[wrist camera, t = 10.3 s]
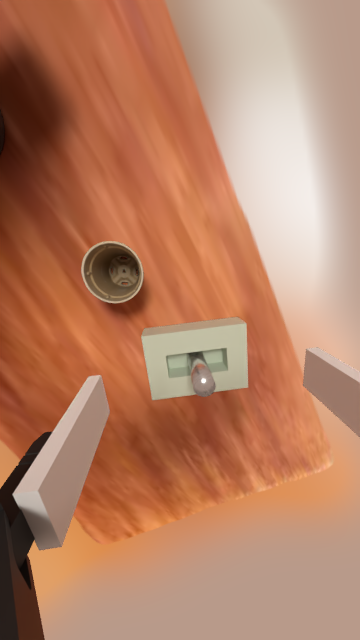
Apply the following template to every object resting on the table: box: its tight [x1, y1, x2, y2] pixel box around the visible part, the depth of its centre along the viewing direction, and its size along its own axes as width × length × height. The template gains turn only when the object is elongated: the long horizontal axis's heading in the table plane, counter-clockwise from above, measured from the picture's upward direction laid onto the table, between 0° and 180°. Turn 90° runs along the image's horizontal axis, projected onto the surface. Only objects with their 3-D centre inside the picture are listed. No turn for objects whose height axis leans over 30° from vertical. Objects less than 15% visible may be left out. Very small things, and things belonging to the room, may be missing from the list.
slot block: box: [141, 317, 248, 400], centre depth 43 cm, size 14×20×5 cm
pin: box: [187, 351, 216, 397], centre depth 39 cm, size 4×4×12 cm
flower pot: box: [81, 241, 144, 303], centre depth 36 cm, size 9×9×9 cm
